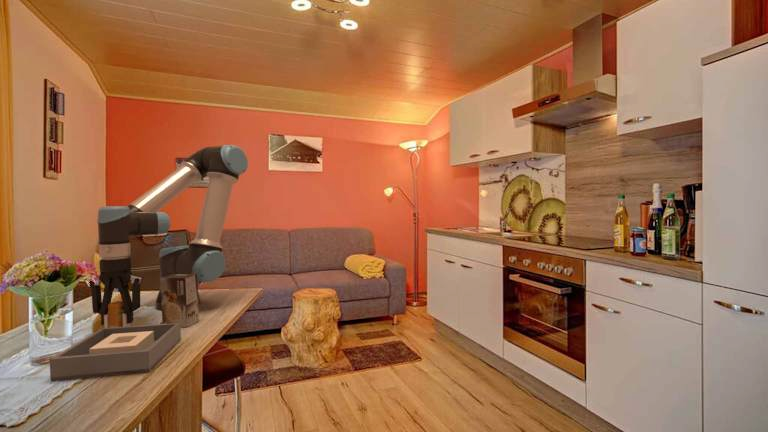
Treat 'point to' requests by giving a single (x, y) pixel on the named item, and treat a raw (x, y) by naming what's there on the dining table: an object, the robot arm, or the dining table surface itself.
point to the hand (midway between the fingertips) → (117, 334)
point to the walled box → (114, 354)
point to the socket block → (124, 342)
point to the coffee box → (179, 299)
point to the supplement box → (116, 314)
